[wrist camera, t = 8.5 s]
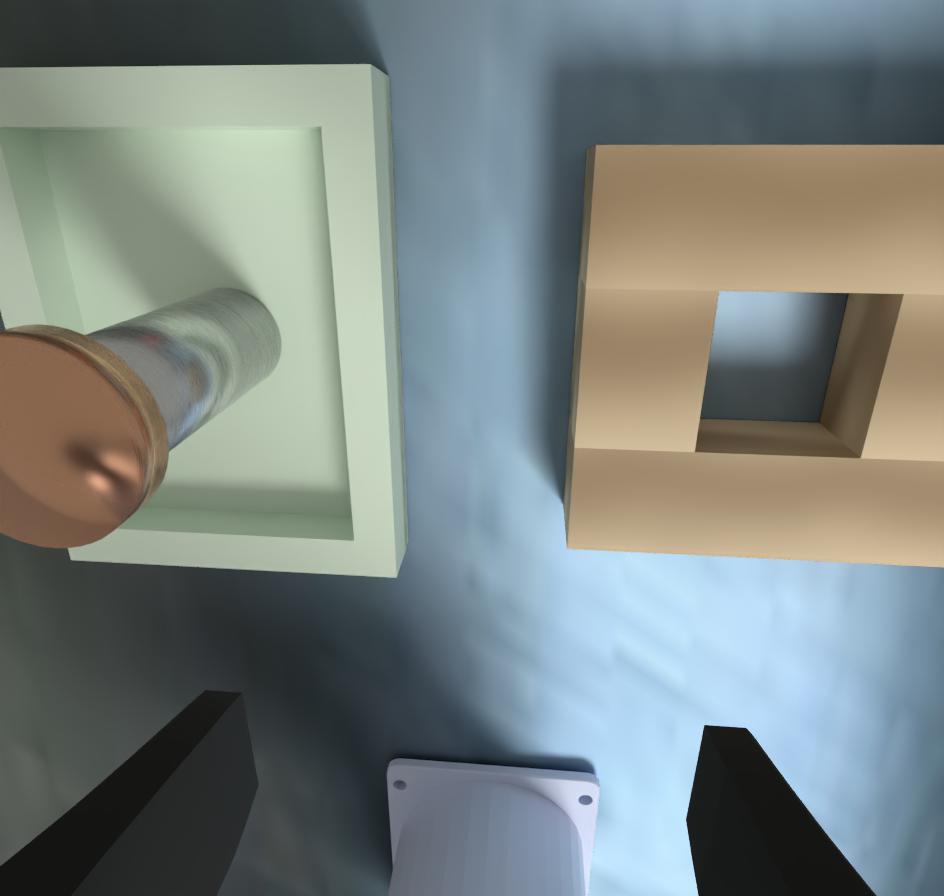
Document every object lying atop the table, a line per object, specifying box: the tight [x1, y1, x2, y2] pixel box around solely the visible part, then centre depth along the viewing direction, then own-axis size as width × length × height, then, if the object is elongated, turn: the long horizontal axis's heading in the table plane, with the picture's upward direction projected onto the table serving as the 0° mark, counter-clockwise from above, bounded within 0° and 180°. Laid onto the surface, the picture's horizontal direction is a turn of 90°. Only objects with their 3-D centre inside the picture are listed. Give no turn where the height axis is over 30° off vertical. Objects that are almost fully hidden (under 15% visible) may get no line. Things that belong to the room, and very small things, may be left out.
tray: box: [0, 64, 409, 578], centre depth 18 cm, size 13×10×2 cm
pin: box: [0, 288, 282, 548], centre depth 14 cm, size 4×4×8 cm
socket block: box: [563, 145, 944, 567], centre depth 16 cm, size 10×10×2 cm
